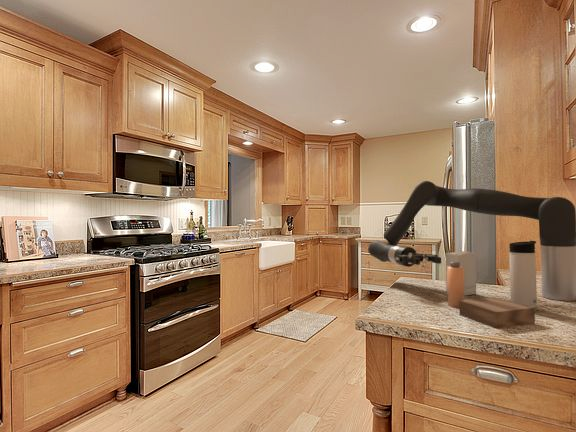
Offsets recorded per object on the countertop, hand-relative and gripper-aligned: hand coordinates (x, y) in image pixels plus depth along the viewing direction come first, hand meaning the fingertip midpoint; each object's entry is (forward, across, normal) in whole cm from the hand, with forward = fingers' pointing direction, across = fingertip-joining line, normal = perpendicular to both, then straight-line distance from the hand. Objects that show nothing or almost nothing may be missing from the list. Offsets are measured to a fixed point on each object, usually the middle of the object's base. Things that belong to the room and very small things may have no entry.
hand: (429, 261), depth 111 cm
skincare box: (0, +13, +13) cm, 18 cm away
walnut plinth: (+26, 0, +12) cm, 28 cm away
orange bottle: (+12, 0, +12) cm, 17 cm away
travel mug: (+20, +16, +12) cm, 29 cm away
